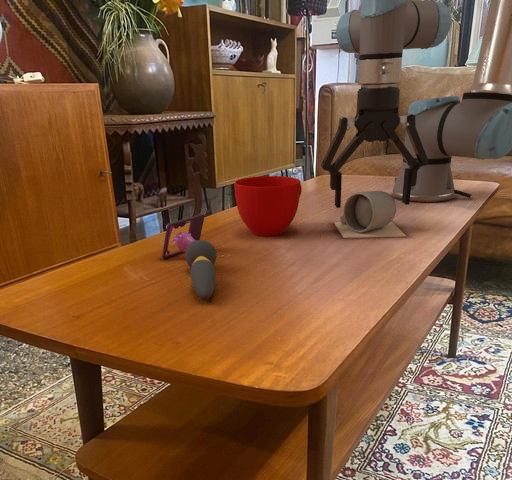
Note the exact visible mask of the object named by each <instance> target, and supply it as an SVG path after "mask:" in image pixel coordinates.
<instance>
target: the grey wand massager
mask: <svg viewBox="0 0 512 480" xmlns="http://www.w3.org/2000/svg"><path fill="white" fill-rule="evenodd" d="M184 254H185V255H184V256H185V257H184V258H185V261H186V263H187V265H188V267H190V280H191V283H192V286H193V289H194V291H195V293H196V294H197V296H198V297H199V298H201V299H202V300H208V299H210V297H212V295H213V293H214V291H215V287H216V269H215V264H216V261H217V251H216V248H215V246H214V245H213V244H212V243H211V242H209V241H208V240H204V239H200V240H197V241H194V242H192V243H190V244H189V246H188V247H187V249H186V253H185V252H184Z"/></svg>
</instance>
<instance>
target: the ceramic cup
mask: <svg viewBox="0 0 512 480" xmlns="http://www.w3.org/2000/svg"><path fill="white" fill-rule="evenodd" d="M233 185H234V196H235V202H236V208H237V211H238V214H239V217H240V219H241V220H242V222H243V223H244V225H245V226H246V227H247V229H249V231H251V233H252V234H253V235H256V236H262V237H264V236H265V237H271V236H278V235H282V234H284V233H285V231H286V230H287V229H288V228H289V226H290V225H291V224H292V222H293V221H294V219H295V217H296V215H297V212H298V210H299V209H298V208H299V203H300V198H301V195H302V191H303V190H302V189H303V188H302V184H301V179H299V178H298V177H297V178H296V177H293V176H292V177H291V176H283V175H261V176H258V175H257V176H248V177H244V178H239V179H237V180H235V181H234V184H233Z"/></svg>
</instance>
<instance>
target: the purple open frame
mask: <svg viewBox="0 0 512 480" xmlns="http://www.w3.org/2000/svg"><path fill="white" fill-rule="evenodd" d="M205 215H206V214H204V213H200V214H196V215H194V216H193V215H192V216H189V217H186V218H183V219H180V220H175V221H173V222H169V223H167V224H166V226H165V236H164V241H163V248H162V254H161V258H162V259H163V260H166V259H168V258H171V257H175V256H177V255H180V254H182V253H184V254H185V253H186V249H187V247H188V246H189V244H190V243H192V242H194V241H197V240H201V235H202V230H203V225H204V221H205ZM187 222H189V225H188V232H186V231H184V232H182V231H180V232H179V233H176V235H175V237H173V238H172V240H171V242H172V243H173V245H176V247H177V248H178V249H179V250H178V251H176V252H173V253H171V251H170V250H169V244H170V239H171V235H172V233H173V230H177V229H179V228H184V227H185V226H186V224H187Z"/></svg>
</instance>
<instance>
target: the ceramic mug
mask: <svg viewBox="0 0 512 480" xmlns="http://www.w3.org/2000/svg"><path fill="white" fill-rule="evenodd" d="M396 203H397V202H396V201H395V199H394V197H393V196H392V195H391V193H389V192H387V191H383V190H370V191H357V192H354V193H352V194H351V195H350V196H349V197H348V198H347V199H346V201H345V203H344V207H343V214H342V215H340V222H341V223H342V224H347V225H348V227H349V228H350V229H351V230H353V231H355V232H358V233H362V232H366V231H370V230H374V229H377V228H381V227H384V226H386V225H388V224H389V223H390V222H393V220H394V219H395V216H396V214H397V204H396Z"/></svg>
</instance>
